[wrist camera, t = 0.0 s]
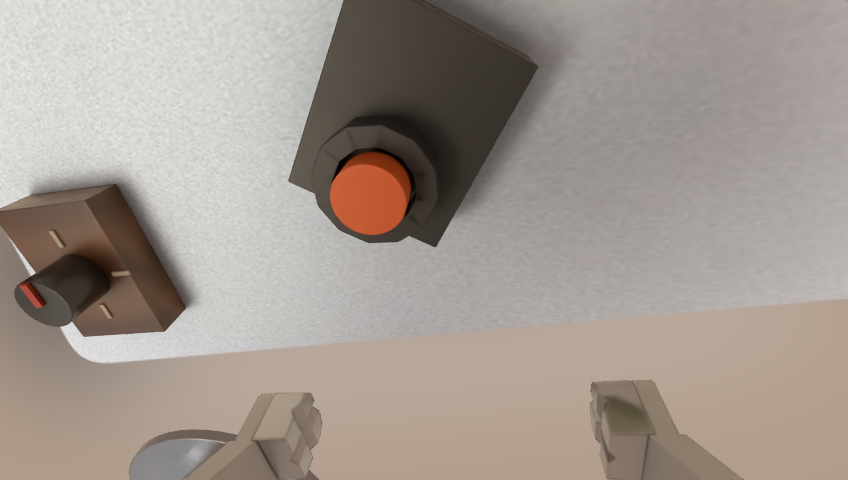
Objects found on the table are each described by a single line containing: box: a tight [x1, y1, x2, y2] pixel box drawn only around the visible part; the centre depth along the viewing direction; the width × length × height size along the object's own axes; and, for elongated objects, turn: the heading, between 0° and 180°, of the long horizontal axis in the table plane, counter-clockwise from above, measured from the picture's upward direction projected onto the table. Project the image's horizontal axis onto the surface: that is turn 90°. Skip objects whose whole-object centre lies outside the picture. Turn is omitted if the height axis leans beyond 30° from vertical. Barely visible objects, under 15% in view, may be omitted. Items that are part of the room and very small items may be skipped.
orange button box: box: [289, 0, 538, 247], centre depth 24 cm, size 12×10×6 cm
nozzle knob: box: [14, 255, 109, 327], centre depth 31 cm, size 4×4×4 cm
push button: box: [330, 151, 411, 235], centre depth 22 cm, size 4×4×2 cm
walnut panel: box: [0, 184, 186, 337], centre depth 33 cm, size 12×8×3 cm
